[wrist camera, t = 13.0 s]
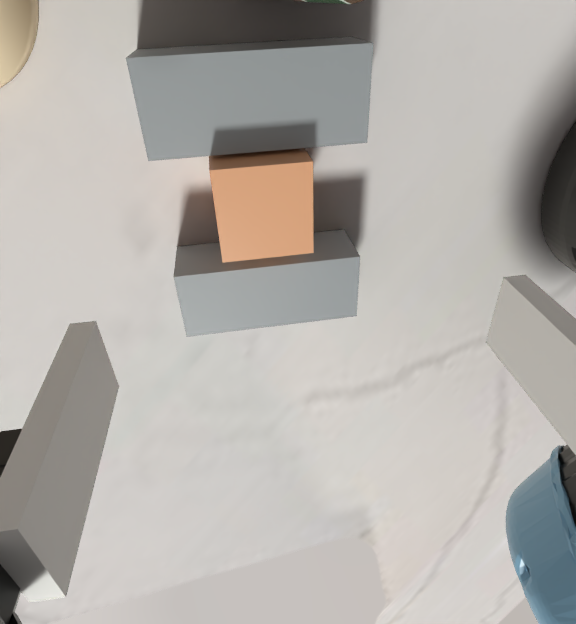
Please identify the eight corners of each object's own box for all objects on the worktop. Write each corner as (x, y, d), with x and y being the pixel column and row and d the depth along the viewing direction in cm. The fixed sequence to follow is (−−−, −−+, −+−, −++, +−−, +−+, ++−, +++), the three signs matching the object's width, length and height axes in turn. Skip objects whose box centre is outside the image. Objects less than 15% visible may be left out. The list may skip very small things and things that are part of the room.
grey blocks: (351, 36, 21) (373, 42, 19) (342, 285, 30) (356, 316, 27) (136, 49, 20) (125, 58, 18) (188, 303, 29) (186, 336, 26)
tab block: (296, 213, 26) (313, 252, 22) (219, 220, 26) (222, 262, 22) (294, 132, 24) (312, 161, 20) (208, 139, 23) (209, 170, 19)
